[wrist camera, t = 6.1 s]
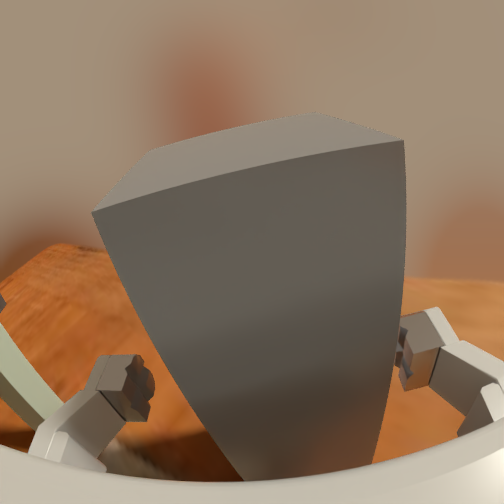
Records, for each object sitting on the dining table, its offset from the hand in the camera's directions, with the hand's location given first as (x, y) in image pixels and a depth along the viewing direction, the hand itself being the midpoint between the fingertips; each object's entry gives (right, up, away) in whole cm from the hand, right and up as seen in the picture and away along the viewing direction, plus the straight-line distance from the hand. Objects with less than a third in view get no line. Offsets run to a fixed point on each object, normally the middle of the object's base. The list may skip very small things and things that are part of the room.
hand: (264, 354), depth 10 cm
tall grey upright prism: (+2, -6, +4) cm, 8 cm away
